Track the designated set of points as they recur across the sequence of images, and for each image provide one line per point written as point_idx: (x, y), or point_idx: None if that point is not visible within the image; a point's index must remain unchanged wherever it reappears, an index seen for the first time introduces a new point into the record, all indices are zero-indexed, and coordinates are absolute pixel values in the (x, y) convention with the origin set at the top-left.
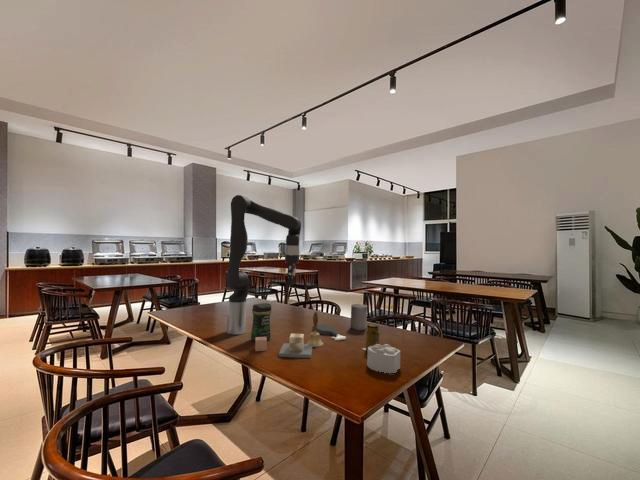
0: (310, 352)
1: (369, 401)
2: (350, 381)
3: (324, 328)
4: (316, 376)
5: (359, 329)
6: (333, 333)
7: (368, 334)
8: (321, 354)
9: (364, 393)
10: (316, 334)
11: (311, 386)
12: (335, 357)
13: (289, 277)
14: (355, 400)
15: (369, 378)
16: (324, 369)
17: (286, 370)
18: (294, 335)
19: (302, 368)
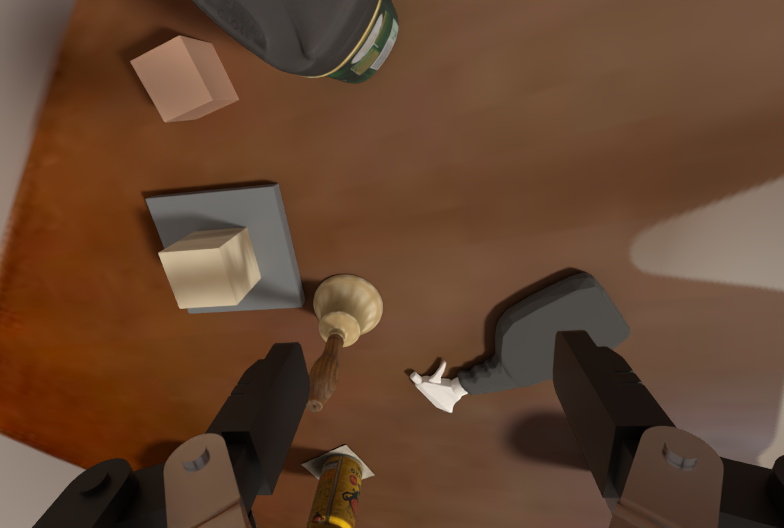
0: (209, 310)
1: (27, 434)
2: (94, 407)
3: (541, 339)
4: (74, 335)
5: None
6: (479, 372)
7: (313, 511)
8: (245, 335)
9: (54, 429)
10: (323, 337)
11: (13, 329)
12: (236, 375)
13: (143, 484)
14: (14, 413)
15: (133, 443)
16: (130, 351)
17: (61, 250)
18: (193, 269)
19: (102, 293)
